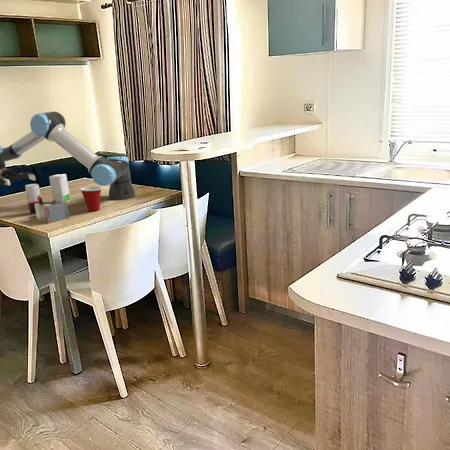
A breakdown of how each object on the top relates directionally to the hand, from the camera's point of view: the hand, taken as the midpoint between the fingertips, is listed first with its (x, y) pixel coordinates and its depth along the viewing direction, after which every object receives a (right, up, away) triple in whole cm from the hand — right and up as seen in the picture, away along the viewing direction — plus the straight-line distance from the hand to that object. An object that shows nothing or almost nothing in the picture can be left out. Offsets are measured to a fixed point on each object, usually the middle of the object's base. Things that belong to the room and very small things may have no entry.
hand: (22, 180), depth 251 cm
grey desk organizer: (+22, -20, -15) cm, 33 cm away
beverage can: (+9, -18, -2) cm, 20 cm away
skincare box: (+15, -11, +18) cm, 26 cm away
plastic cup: (+39, -16, -4) cm, 43 cm away
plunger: (+16, -19, -10) cm, 27 cm away
